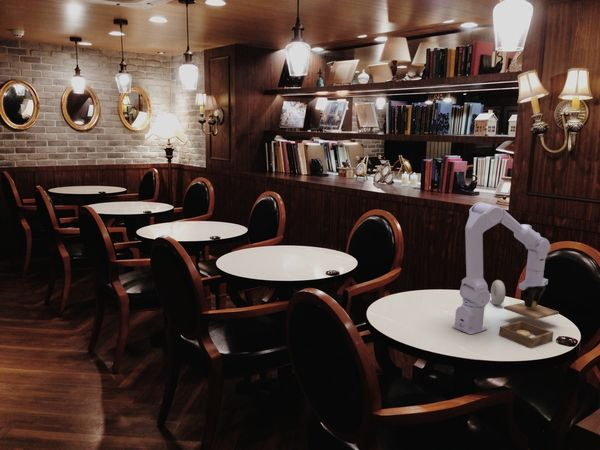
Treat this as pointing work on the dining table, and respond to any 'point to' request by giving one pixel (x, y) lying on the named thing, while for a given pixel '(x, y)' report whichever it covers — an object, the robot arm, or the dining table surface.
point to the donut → (498, 292)
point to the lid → (531, 310)
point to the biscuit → (524, 332)
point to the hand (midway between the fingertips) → (531, 305)
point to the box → (511, 334)
